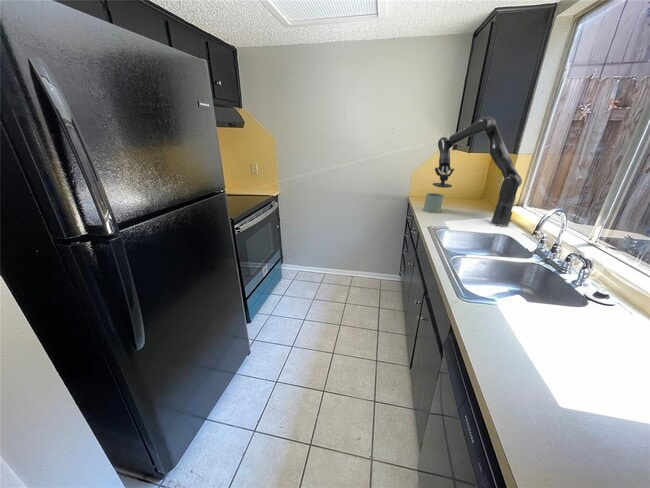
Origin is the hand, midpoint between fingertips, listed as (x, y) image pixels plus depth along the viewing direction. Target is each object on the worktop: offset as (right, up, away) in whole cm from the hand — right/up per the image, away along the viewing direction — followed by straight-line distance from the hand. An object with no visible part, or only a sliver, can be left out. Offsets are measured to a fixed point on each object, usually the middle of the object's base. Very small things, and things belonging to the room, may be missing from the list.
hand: (443, 180), depth 187 cm
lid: (0, -3, +4) cm, 5 cm away
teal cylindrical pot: (-2, -20, +17) cm, 26 cm away
